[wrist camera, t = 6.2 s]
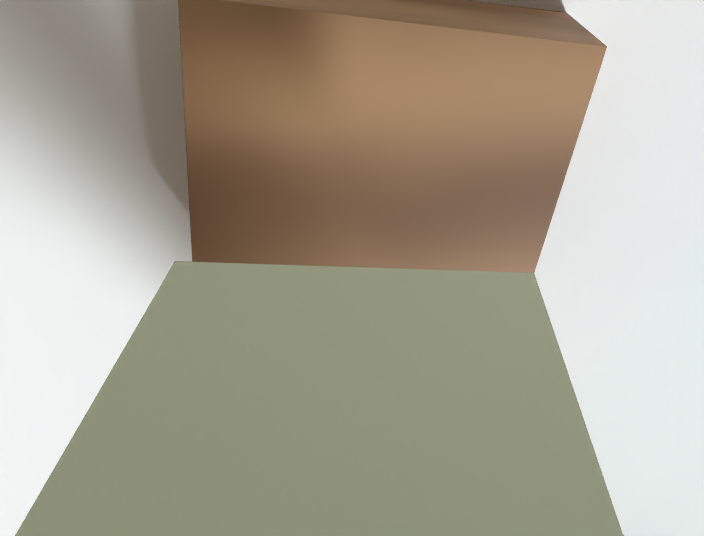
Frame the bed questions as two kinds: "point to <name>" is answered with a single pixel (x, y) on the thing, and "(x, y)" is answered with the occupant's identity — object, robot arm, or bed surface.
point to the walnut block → (379, 130)
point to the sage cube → (333, 413)
